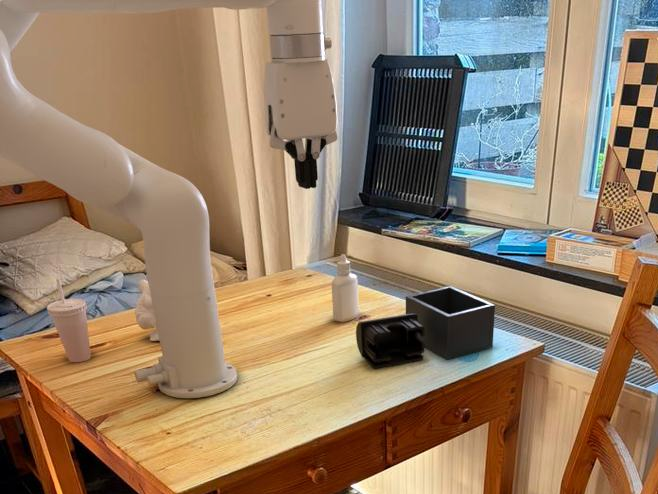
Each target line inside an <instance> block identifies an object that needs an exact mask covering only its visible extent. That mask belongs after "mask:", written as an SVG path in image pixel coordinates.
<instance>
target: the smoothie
mask: <svg viewBox="0 0 658 494" xmlns="http://www.w3.org/2000/svg"><path fill="white" fill-rule="evenodd" d="M55 281H56V285H57V290H58V293H59V298H60V300H56V301H53V302H51V303H49V304H48V305H47V306H46V310H47V314H48V315H49V316H50V317H51V320H52V322H53V325H54V327H55V329H56V332H57V334H58V337H59V339H60V342H61V344H62V347H63V349H64V351H65V354H66V356H67V359H68V361H69V362H71V363H82V362H85V361H88V360H90V359H91V357H92V354H91V344H90V335H89V326H88V318H87V309H88V305H87V302H86V300H85V299H81V298H65V295H64V291H63V288H62V284H61V280H60V278H59V277H57V278H55Z"/></svg>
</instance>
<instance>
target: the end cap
mask: <svg viewBox="0 0 658 494" xmlns="http://www.w3.org/2000/svg"><path fill="white" fill-rule="evenodd" d="M418 333H419V334H420V335H421V336H425V329H424V327H423V326H422V325H420V324H419V323H418V322H417V314H415V313H411V314H406V313H405V314H398V315H395V316H393V315H392V316H387V317H381V318H375V319H370V320H362V321H359V322H358V323H357V325H356V329H355V339H356V346H357V349H358V352H359V354H360V356H361V357H362V358H363V359H364V361H365V362H366V363H367V365H369V366H370V368H371V369H373V370H381V369H385V368H386V369H387V368H392V367H397V366H403V365H408V364H413V363H418V362H423V361H424V355H422V354H424V353H425V348H424V347H425V344H424V343H423V342H422V341H421V340H420V339H419V338H418Z"/></svg>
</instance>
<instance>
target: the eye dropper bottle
mask: <svg viewBox="0 0 658 494" xmlns="http://www.w3.org/2000/svg"><path fill="white" fill-rule="evenodd" d="M336 269H337V274H336V276H335V277H333V279H332V281H331V300H332V301H331V302H332V313H333V314H332V317H333V320H334V322H335V321H336V322H339V323H345V322H349V321H352V320H354V319H357V317H358V316H359V314H360V305H359V304H360V301H359V283H358V282H359V281H358V276H357V275H356V274H355V273H352V270H351V261H350V260H348V259H347V256H346V254H345V253H342V254H341V256H340V259H339V261H337V262H336Z"/></svg>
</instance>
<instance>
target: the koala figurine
mask: <svg viewBox="0 0 658 494" xmlns="http://www.w3.org/2000/svg"><path fill="white" fill-rule="evenodd" d="M138 289H139V290H140V292H141V294H140V297H139V298H138V299H137V303H136V306H135V310H134V314H135V321H136V323H137V325H138V326H139V328H140V329H142V330H145V331H147V330H151V329H152V330H153V331H150V332H148V337H149V341H150V342H158V341H159V342H160V340H159V335H158V330H157V324H156V319H155V314H154V309H153V304H152V299H151V293H150V289H149V284H148V280H146V279H140V280H139V282H138ZM154 329H155V330H154Z"/></svg>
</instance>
